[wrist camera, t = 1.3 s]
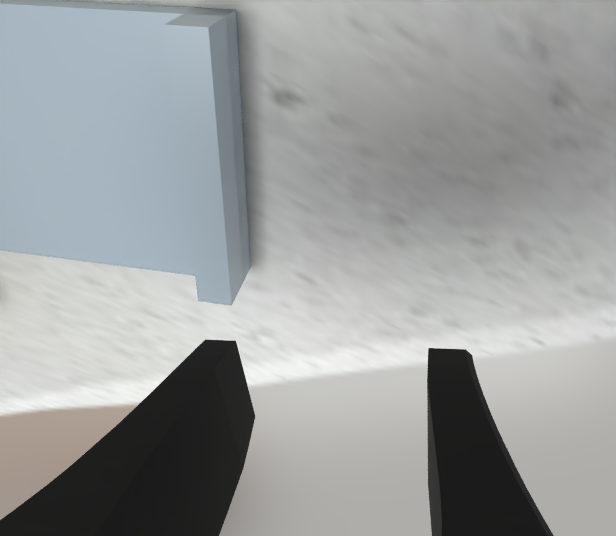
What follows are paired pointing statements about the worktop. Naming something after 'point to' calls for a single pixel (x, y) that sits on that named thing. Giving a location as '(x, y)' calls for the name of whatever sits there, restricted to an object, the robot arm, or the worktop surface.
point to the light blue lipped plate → (124, 138)
